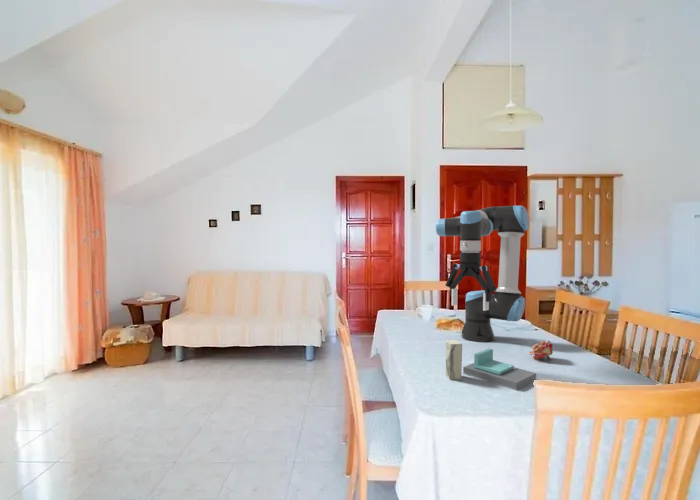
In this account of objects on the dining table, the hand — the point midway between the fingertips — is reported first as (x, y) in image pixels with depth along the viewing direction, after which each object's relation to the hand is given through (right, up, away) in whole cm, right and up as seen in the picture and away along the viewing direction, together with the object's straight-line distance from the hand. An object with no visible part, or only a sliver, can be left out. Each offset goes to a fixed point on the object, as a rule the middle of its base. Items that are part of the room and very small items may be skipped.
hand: (469, 307), depth 148 cm
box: (-9, -24, -10) cm, 27 cm away
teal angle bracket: (+6, -21, -8) cm, 23 cm away
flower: (+32, -23, +10) cm, 41 cm away
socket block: (+8, -23, -9) cm, 26 cm away
